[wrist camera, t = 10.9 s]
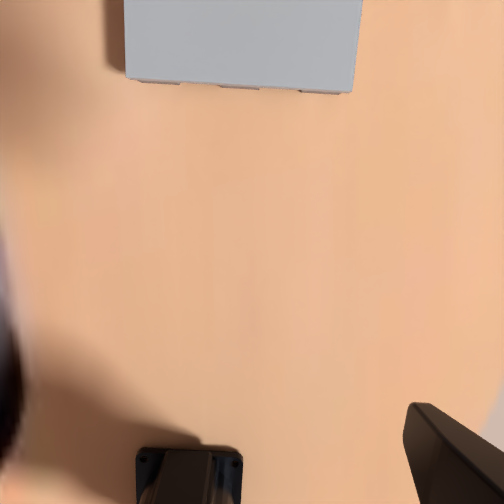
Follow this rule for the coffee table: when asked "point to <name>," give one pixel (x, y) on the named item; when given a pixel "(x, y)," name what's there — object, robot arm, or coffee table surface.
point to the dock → (244, 43)
